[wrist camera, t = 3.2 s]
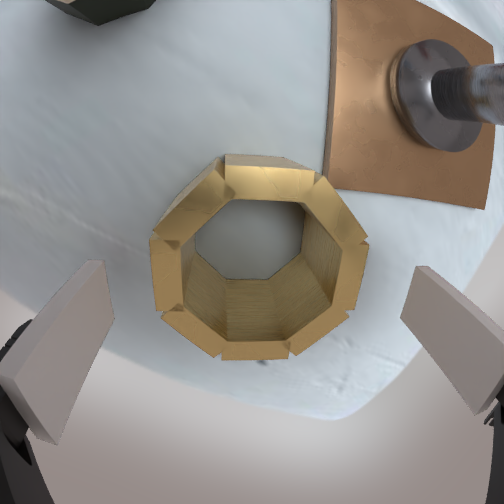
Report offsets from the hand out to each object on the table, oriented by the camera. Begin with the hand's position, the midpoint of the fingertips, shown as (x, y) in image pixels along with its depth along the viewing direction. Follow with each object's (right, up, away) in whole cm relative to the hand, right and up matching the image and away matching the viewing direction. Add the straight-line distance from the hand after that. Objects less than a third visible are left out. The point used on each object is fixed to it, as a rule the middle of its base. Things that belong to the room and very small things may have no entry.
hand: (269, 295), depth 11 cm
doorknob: (+11, +12, +3) cm, 16 cm away
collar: (-1, +3, +6) cm, 7 cm away
